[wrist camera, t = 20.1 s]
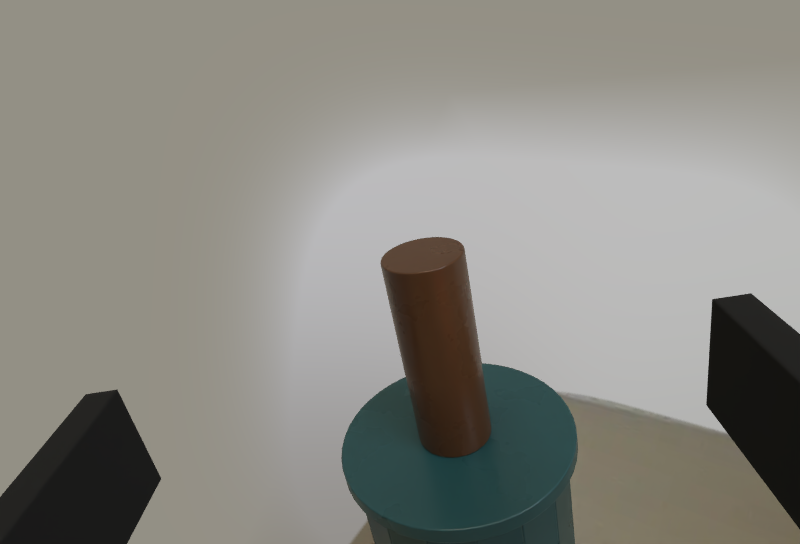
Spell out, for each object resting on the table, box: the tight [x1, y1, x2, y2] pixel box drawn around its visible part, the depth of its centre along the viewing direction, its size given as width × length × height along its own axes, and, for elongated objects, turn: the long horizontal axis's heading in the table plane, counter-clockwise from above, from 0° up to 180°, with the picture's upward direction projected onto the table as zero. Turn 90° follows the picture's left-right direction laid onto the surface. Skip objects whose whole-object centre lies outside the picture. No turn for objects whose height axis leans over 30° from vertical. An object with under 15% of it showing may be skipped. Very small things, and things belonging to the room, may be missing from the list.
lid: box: [342, 237, 578, 543], centre depth 20 cm, size 9×9×9 cm
